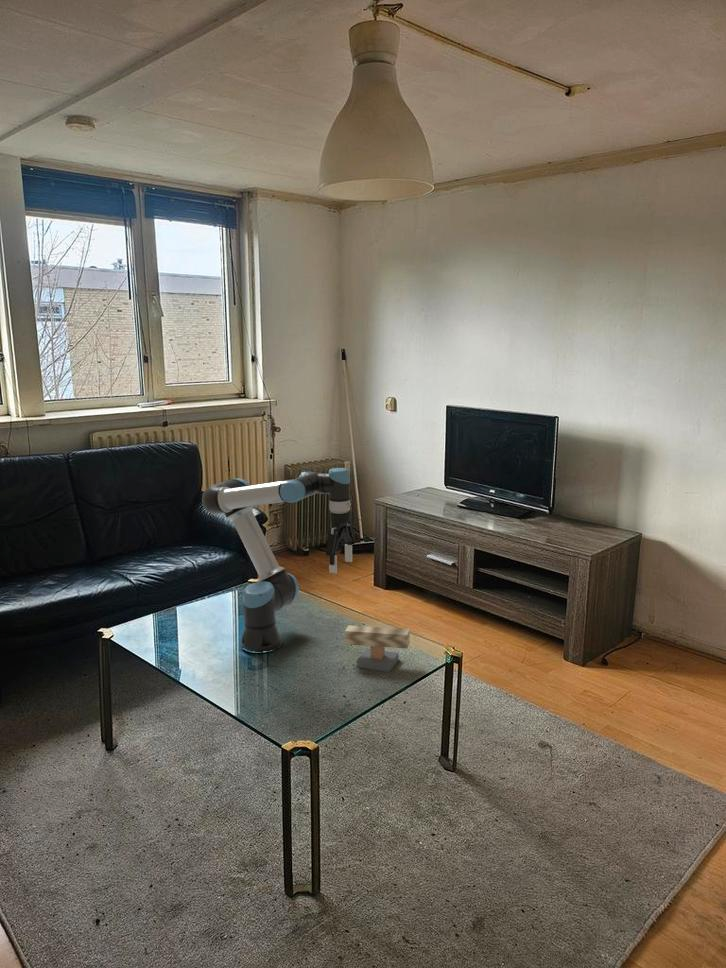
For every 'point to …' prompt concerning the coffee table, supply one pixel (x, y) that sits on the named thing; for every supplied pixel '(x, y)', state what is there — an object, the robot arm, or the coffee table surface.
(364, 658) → the fulcrum
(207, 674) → the coffee table surface
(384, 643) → the beam
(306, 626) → the coffee table surface
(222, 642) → the coffee table surface
